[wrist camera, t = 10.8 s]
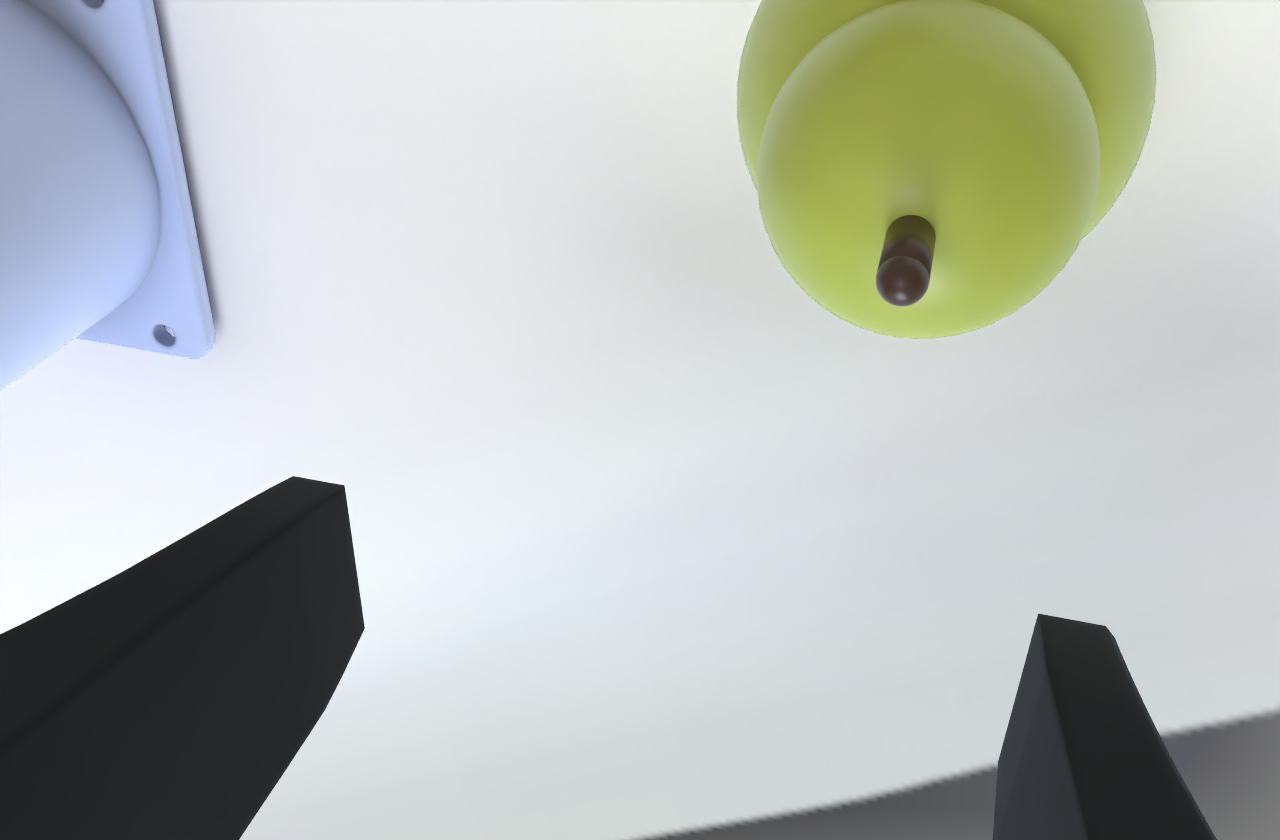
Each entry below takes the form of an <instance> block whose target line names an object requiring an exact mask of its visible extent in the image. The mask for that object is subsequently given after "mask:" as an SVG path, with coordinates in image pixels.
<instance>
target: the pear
mask: <svg viewBox="0 0 1280 840" xmlns="http://www.w3.org/2000/svg"><path fill="white" fill-rule="evenodd" d="M1155 86H1156V65H1155V53H1154V42H1153V36H1152V31H1151V27H1150V23H1149V19H1148V14H1147V11H1146V8H1145V6H1144V3H1143V1H1142V0H762V1H761V3H760V6H759V8H758V10H757V12H756V15H755V17H754V20H753V22H752V24H751V27H750V29H749V31H748V35H747V38H746V42H745V45H744V49H743V53H742V56H741V62H740V69H739V76H738V83H737V118H738V127H739V135H740V142H741V146H742V150H743V154H744V158H745V161H746V165H747V167H748V170H749V172H750V175H751V177H752V180H753V182H754V185H755V187H756V189H757V191H758V197H759V206H760V211H761V214H762V218H763V222H764V226H765V229H766V231H767V234H768V236H769V239H770V241H771V244H772V246H773V248H774V250H775V252H776V254H777V256H778V257H779V259H780V261H781V263H782V264H783V266H784V268H785V269H786V270H787V272H788V273H789V274H790V276H791V277H792V278H793V280H794V281H795V282H796V283H797V284H798V285H799V286H800V287H801V288H802V289H803V291H804V292H805V293H806V294H807V295H808V296H810V297H811V298H812V299H813V300H815V301H816V302H817V303H818V304H819V305H821V306H822V307H823V308H825V309H826V310H828V311H830V312H831V313H833V314H834V315H836V316H838V317H839V318H841V319H843V320H845V321H847V322H849V323H851V324H853V325H855V326H858V327H860V328H863V329H866V330H869V331H872V332H875V333H879V334H884V335H889V336H893V337H902V338H913V339H918V338H938V337H946V336H953V335H957V334H961V333H965V332H969V331H973V330H976V329H979V328H981V327H984V326H987V325H989V324H992V323H994V322H996V321H998V320H1000V319H1002V318H1004V317H1006V316H1008V315H1010V314H1012V313H1013V312H1015V311H1016V310H1018V309H1019V308H1021V307H1022V306H1023V305H1025V304H1026V303H1028V302H1029V301H1030V300H1032V299H1033V298H1034V297H1035V296H1036V295H1037V294H1038V293H1039V292H1041V291H1042V290H1043V289H1044V288H1045V287H1046V286H1047V285H1048V284H1049V283H1050V282H1051V281H1052V280H1053V279H1054V278H1055V277H1056V275H1057V274H1058V273H1059V272H1060V271H1061V270H1062V269H1063V268H1064V266H1065V265H1066V263H1067V262H1068V260H1069V259H1070V257H1071V256H1072V254H1073V253H1074V251H1075V250H1076V248H1077V246H1078V244H1079V242H1080V240H1081V239H1082V238H1083V237H1085V236H1086V235H1087V234H1088V233H1089V232H1090V231H1091V230H1092V229H1093V228H1094V227H1095V226H1096V225H1097V224H1098V222H1099V221H1100V220H1101V219H1102V218H1103V217H1104V216H1105V214H1106V213H1107V212H1108V211H1109V210H1110V208H1111V207H1112V205H1113V204H1114V202H1115V201H1116V200H1117V198H1118V197H1119V195H1120V194H1121V192H1122V191H1123V189H1124V188H1125V186H1126V184H1127V182H1128V180H1129V178H1130V176H1131V174H1132V172H1133V170H1134V168H1135V166H1136V164H1137V162H1138V159H1139V157H1140V154H1141V151H1142V148H1143V146H1144V143H1145V140H1146V137H1147V134H1148V131H1149V128H1150V123H1151V118H1152V113H1153V108H1154V103H1155Z"/></svg>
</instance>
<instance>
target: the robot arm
mask: <svg viewBox="0 0 1280 840" xmlns="http://www.w3.org/2000/svg"><path fill="white" fill-rule="evenodd" d="M164 325H165V326H167V327H169V328H170V329H171V330H172V331H173V333H174V335H175V337H174V336H172V335H171V334H170V333H169V332H168V331H167V330H166V328H165V326H164ZM74 338H77V339H83V340H89V341H94V342H100V343H106V344H111V345H117V346H123V347H128V348H134V349H140V350H145V351H151V352H157V353H162V354H168V355H173V356H179V357H185V358H190V359H195V358H200V357H202V356H204V355H205V354H206V353H208V352H209V351H210V350H211V349H212V348H213V346H214V345H215V343H216V334H215V329H214V324H213V318H212V313H211V308H210V302H209V297H208V292H207V286H206V281H205V276H204V270H203V265H202V260H201V254H200V249H199V244H198V238H197V233H196V228H195V222H194V217H193V212H192V206H191V201H190V196H189V190H188V185H187V180H186V174H185V169H184V164H183V158H182V153H181V148H180V142H179V137H178V132H177V126H176V121H175V116H174V110H173V105H172V100H171V94H170V89H169V84H168V78H167V73H166V68H165V62H164V57H163V52H162V46H161V41H160V36H159V30H158V25H157V20H156V14H155V9H154V4H153V0H104V2H103V1H101V0H0V391H2V390H3V389H4V388H6V387H7V386H8V385H10V384H11V383H13V382H14V381H15V380H17V379H18V378H20V377H21V376H22V375H24V374H25V373H27V372H28V371H29V370H31V369H32V368H34V367H35V366H36V365H38V364H39V363H41V362H42V361H43V360H45V359H46V358H48V357H49V356H50V355H52V354H53V353H55V352H56V351H57V350H59V349H60V348H62V347H63V346H64V345H66V344H67V343H69V342H70V341H71V340H73V339H74ZM364 628H365V627H364V620H363V613H362V606H361V599H360V592H359V585H358V578H357V571H356V564H355V557H354V550H353V543H352V536H351V529H350V522H349V514H348V507H347V500H346V493H345V486H344V485H338V484H333V483H328V482H322V481H317V480H311V479H306V478H300V477H295V476H293V477H291V478H289V479H287V480H285V481H283V482H281V483H279V484H277V485H275V486H273V487H271V488H269V489H267V490H266V491H264V492H262V493H260V494H258V495H257V496H255V497H253V498H251V499H249V500H248V501H246V502H244V503H242V504H241V505H239V506H237V507H235V508H234V509H232V510H230V511H228V512H227V513H225V514H223V515H221V516H220V517H218V518H216V519H215V520H213V521H211V522H209V523H208V524H206V525H204V526H202V527H201V528H199V529H197V530H195V531H194V532H192V533H190V534H189V535H187V536H185V537H183V538H181V539H180V540H178V541H176V542H174V543H173V544H171V545H169V546H167V547H166V548H164V549H162V550H160V551H159V552H157V553H155V554H153V555H151V556H150V557H148V558H146V559H144V560H143V561H141V562H139V563H137V564H136V565H134V566H132V567H130V568H128V569H127V570H125V571H123V572H121V573H120V574H118V575H116V576H114V577H112V578H110V579H108V580H106V581H104V582H102V583H101V584H99V585H97V586H95V587H93V588H91V589H89V590H87V591H85V592H83V593H81V594H79V595H77V596H75V597H74V598H72V599H70V600H68V601H66V602H64V603H62V604H60V605H58V606H56V607H54V608H52V609H50V610H48V611H46V612H45V613H43V614H41V615H39V616H37V617H35V618H33V619H31V620H29V621H27V622H25V623H23V624H21V625H19V626H17V627H15V628H13V629H11V630H9V631H7V632H4V633H2V634H0V840H239V839H240V837H241V836H242V834H243V833H244V831H245V830H246V828H247V827H248V825H249V824H250V822H251V821H252V819H253V818H254V816H255V815H256V813H257V812H258V810H259V809H260V807H261V806H262V804H263V803H264V801H265V800H266V798H267V797H268V796H269V794H270V793H271V791H272V790H273V788H274V787H275V785H276V784H277V782H278V781H279V779H280V778H281V776H282V775H283V773H284V772H285V770H286V769H287V767H288V766H289V764H290V763H291V761H292V760H293V758H294V756H295V755H296V753H297V752H298V750H299V749H300V747H301V746H302V744H303V743H304V741H305V740H306V738H307V737H308V735H309V734H310V732H311V731H312V729H313V728H314V726H315V724H316V723H317V721H318V720H319V718H320V717H321V715H322V713H323V712H324V710H325V709H326V707H327V705H328V703H329V701H330V699H331V697H332V695H333V693H334V691H335V689H336V687H337V685H338V683H339V681H340V679H341V677H342V675H343V673H344V671H345V669H346V667H347V665H348V663H349V661H350V658H351V656H352V654H353V652H354V650H355V648H356V646H357V643H358V641H359V639H360V637H361V635H362V633H363V631H364ZM993 840H1217V839H1216V837H1215V836H1214V834H1213V832H1212V831H1211V829H1210V827H1209V825H1208V824H1207V822H1206V820H1205V818H1204V816H1203V815H1202V813H1201V811H1200V809H1199V807H1198V806H1197V804H1196V802H1195V801H1194V799H1193V797H1192V795H1191V793H1190V791H1189V790H1188V788H1187V786H1186V784H1185V782H1184V781H1183V779H1182V777H1181V775H1180V773H1179V772H1178V770H1177V768H1176V766H1175V764H1174V762H1173V760H1172V758H1171V757H1170V755H1169V753H1168V751H1167V749H1166V747H1165V745H1164V743H1163V741H1162V739H1161V737H1160V735H1159V733H1158V731H1157V729H1156V727H1155V725H1154V723H1153V721H1152V719H1151V717H1150V715H1149V713H1148V711H1147V709H1146V707H1145V705H1144V703H1143V701H1142V698H1141V696H1140V694H1139V692H1138V690H1137V688H1136V686H1135V683H1134V681H1133V679H1132V677H1131V675H1130V672H1129V670H1128V668H1127V666H1126V663H1125V661H1124V659H1123V656H1122V654H1121V652H1120V649H1119V647H1118V645H1117V642H1116V640H1115V638H1114V636H1113V635H1112V634H1111V632H1110V631H1109V630H1108V628H1107V627H1106V626H1102V625H1097V624H1092V623H1086V622H1081V621H1075V620H1070V619H1064V618H1059V617H1054V616H1048V615H1043V614H1038V617H1037V620H1036V624H1035V628H1034V631H1033V635H1032V639H1031V643H1030V646H1029V650H1028V654H1027V657H1026V661H1025V665H1024V668H1023V672H1022V676H1021V680H1020V683H1019V687H1018V691H1017V694H1016V698H1015V702H1014V705H1013V709H1012V713H1011V717H1010V720H1009V724H1008V728H1007V731H1006V735H1005V739H1004V742H1003V746H1002V750H1001V754H1000V757H999V761H998V772H997V786H996V801H995V814H994V830H993Z"/></svg>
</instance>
